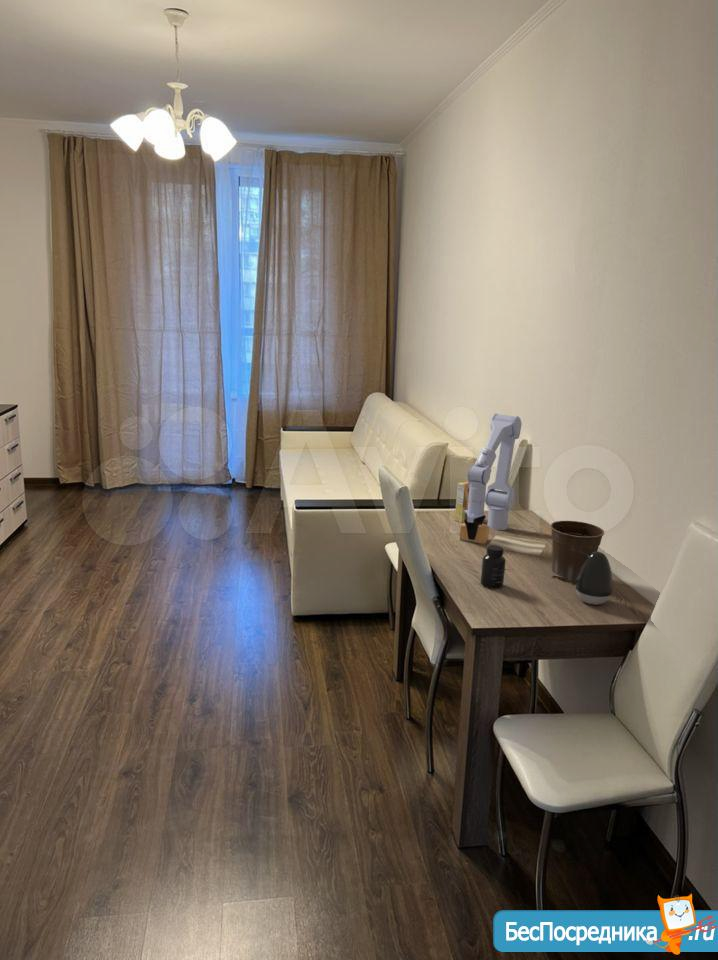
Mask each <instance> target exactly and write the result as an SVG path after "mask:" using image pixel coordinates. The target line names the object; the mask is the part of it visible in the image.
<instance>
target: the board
mask: <svg viewBox="0 0 718 960" xmlns="http://www.w3.org/2000/svg"><path fill="white" fill-rule="evenodd" d="M547 544H548V542H546V541H540V540H539V541H538V540H534V539H527V538H521V537H515V536H510V535H509V536H508V535H504V534H496V535H495V536H494V537H493V538H492V540H491V541H490V542H489V543H488V544H487V545H486V548H487V547H488V546H491V545H496V546H500V547H502V548H503V551H509V552H515V553H520V554H521V553H522V554H526V555H533V556H539V557H540V556H541V554H542V552H543V550H544V549H545V546H546V545H547Z"/></svg>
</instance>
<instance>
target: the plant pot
mask: <svg viewBox="0 0 718 960" xmlns="http://www.w3.org/2000/svg"><path fill="white" fill-rule="evenodd" d="M550 528H551V539H552V543H551V545H552V551H551V553H552V554H551V555H552V556H551V560H552V561H551V571H552V573H553V574H555V575H553V577H554V578H557V579H558V580H559V581H562V582H566V583H570V582H571V583H570V584H576V581H577V577H578V574H579V571H580V569H581V567H582V565H583V563H584V561H585V560H586V559H585V558H584V557H582V556H581V555H580V554H579V552H580V551H582V552H584V553H586V554H588V555H590V554H591V553H592V552H596V551H598V550H599V546H600V545H601V542H602V538H603V536H604V535H605V530H604V529H603V528H602V527H599V526H597V525H595V524H592V523H588V522H583V521H577V520H557V521H553V522H552V523H551V524H550ZM598 552H599V551H598Z"/></svg>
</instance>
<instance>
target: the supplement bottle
mask: <svg viewBox="0 0 718 960" xmlns="http://www.w3.org/2000/svg"><path fill="white" fill-rule="evenodd" d="M487 546H488V545H487ZM487 546H486V554H484V556H483V557H482V561H481V563H482V564H481V574H480V584H482V585H483V586H482V585H481V586H482V587H484V586H485V587H484V588H486V587H488V588H487V589H490V588H499V589H501V588H503V587H504V583H505V582H504V581H505V580H504V579H505V573H506V572H505V570H506V558H505V557H504V550H503V548H502V547H500V546H496V545H491V546H488V547H487ZM500 587H501V588H500Z"/></svg>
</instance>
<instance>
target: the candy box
mask: <svg viewBox="0 0 718 960" xmlns="http://www.w3.org/2000/svg"><path fill="white" fill-rule="evenodd" d="M455 499H456V501H455V510H454V511H455V512H454V521H455V520H456V521H455V522H458V521H460V522H459V523H461V522H463V523H464V519H468V516H467V513H464V511H465V510H468V499H469V486H468V480H467V481H463V482H462V481H461V482H458V483H457V489H456V498H455Z"/></svg>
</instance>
